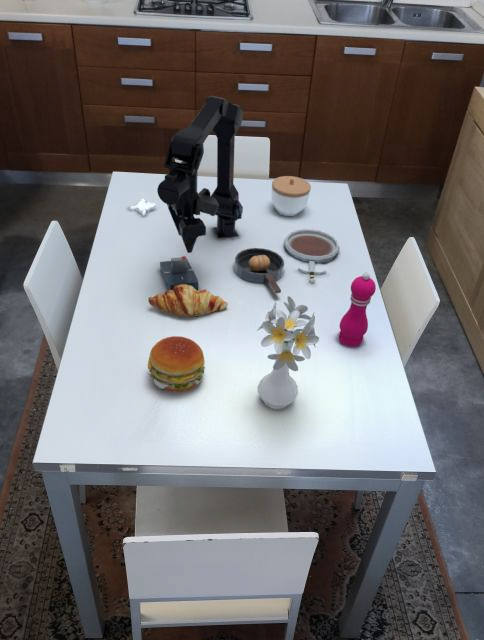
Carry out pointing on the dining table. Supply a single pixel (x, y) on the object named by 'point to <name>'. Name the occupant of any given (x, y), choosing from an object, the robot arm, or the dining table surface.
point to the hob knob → (179, 264)
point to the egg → (259, 263)
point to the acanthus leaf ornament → (143, 207)
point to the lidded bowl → (290, 194)
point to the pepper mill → (357, 311)
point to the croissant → (187, 301)
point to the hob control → (177, 276)
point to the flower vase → (285, 352)
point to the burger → (176, 363)
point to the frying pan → (311, 248)
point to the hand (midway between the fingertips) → (185, 243)
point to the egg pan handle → (272, 283)
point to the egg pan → (259, 276)
